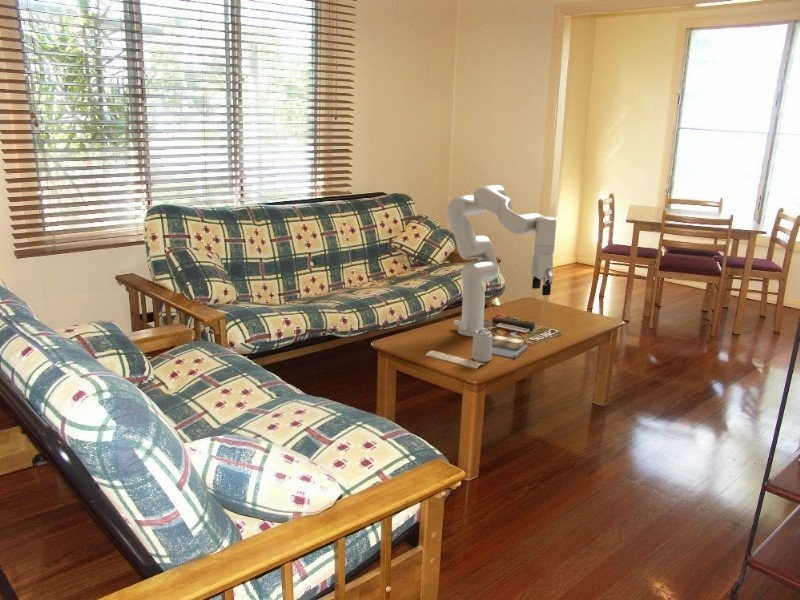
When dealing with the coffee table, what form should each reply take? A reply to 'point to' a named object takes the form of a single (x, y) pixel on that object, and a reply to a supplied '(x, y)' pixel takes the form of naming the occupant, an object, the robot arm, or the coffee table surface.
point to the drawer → (507, 351)
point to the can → (482, 345)
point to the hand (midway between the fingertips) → (540, 291)
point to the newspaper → (454, 359)
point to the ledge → (507, 342)
